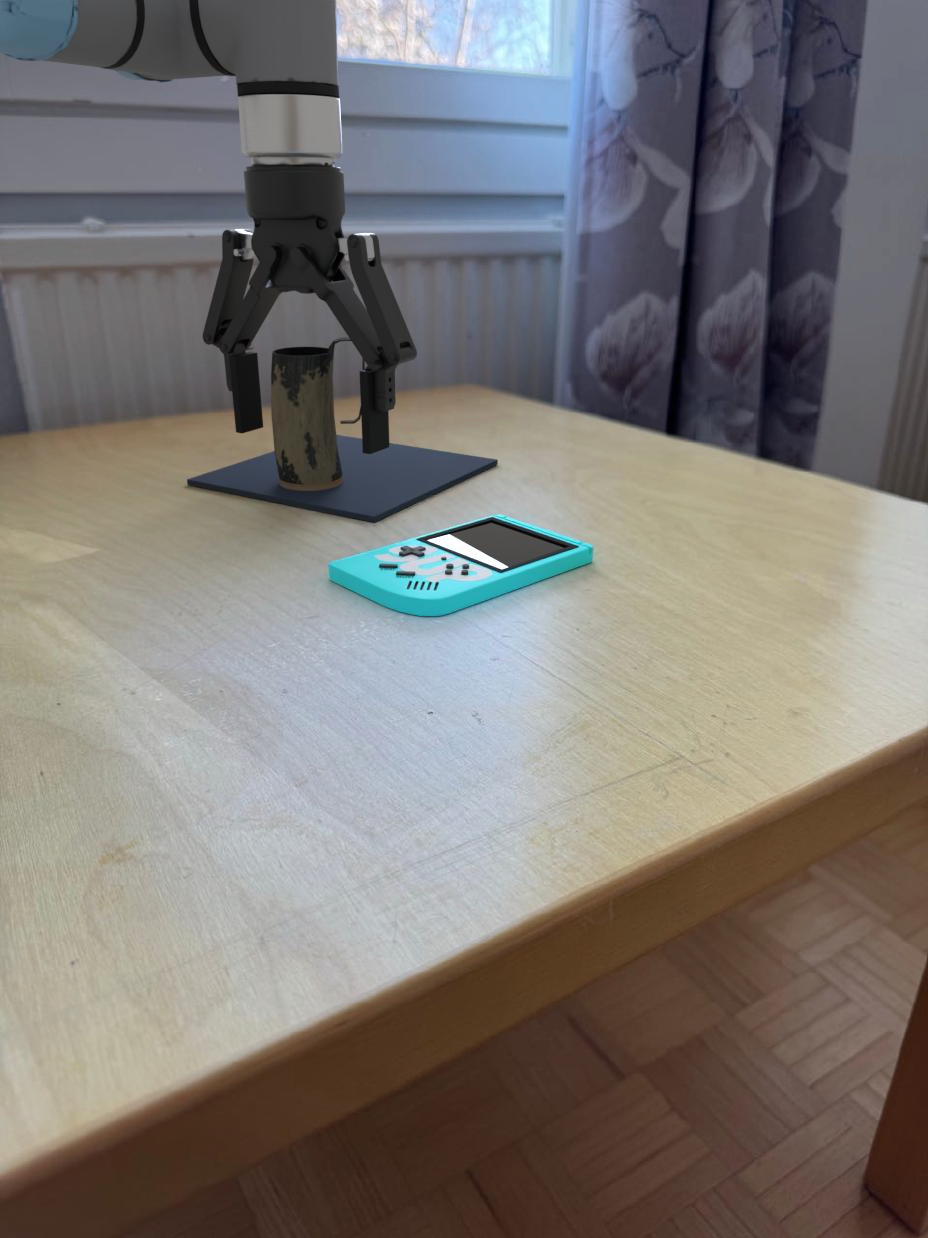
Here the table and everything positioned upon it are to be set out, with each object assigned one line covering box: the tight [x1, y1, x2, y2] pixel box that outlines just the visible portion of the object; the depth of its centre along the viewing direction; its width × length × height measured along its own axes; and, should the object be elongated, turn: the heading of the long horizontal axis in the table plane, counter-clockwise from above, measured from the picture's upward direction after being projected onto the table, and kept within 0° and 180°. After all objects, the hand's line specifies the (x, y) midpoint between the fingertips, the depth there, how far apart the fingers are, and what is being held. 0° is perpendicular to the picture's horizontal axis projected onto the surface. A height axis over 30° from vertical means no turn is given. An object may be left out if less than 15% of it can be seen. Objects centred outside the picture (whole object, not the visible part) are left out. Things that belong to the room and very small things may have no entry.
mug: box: [270, 336, 366, 491], centre depth 81 cm, size 8×6×12 cm
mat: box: [186, 434, 499, 523], centre depth 87 cm, size 20×20×1 cm
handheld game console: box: [328, 513, 594, 617], centre depth 66 cm, size 10×16×1 cm, turn 132°
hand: (310, 440), depth 82 cm, fingers open, 13 cm apart
